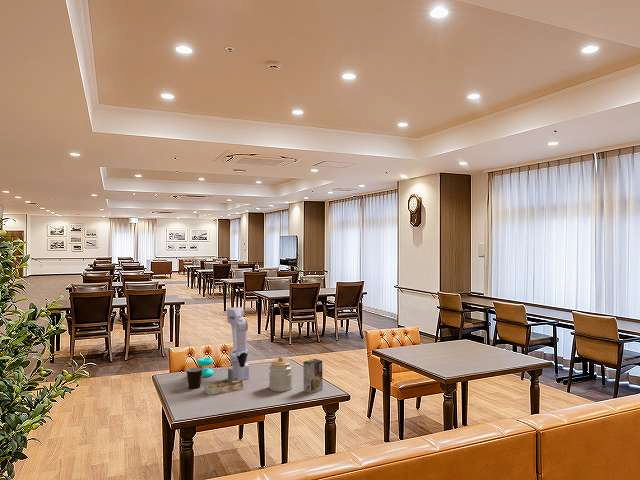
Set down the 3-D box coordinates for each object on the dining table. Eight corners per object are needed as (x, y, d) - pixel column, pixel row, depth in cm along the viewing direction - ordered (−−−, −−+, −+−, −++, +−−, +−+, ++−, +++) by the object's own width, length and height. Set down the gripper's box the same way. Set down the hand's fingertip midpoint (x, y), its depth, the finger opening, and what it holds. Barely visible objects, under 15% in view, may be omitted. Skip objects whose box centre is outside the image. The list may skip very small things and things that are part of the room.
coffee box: (314, 387, 258) (314, 358, 258) (322, 389, 254) (322, 360, 254) (302, 390, 252) (302, 361, 252) (311, 393, 247) (310, 363, 247)
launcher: (236, 384, 262) (236, 377, 262) (243, 389, 255) (243, 381, 255) (215, 388, 255) (215, 381, 255) (221, 393, 247) (221, 385, 248)
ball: (214, 391, 252) (217, 385, 253) (216, 393, 249) (219, 386, 250) (209, 389, 250) (212, 382, 251) (211, 390, 247) (214, 384, 248)
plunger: (230, 381, 258) (230, 368, 258) (233, 383, 253) (233, 370, 253) (225, 382, 256) (225, 369, 256) (228, 384, 252) (228, 371, 252)
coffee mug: (198, 390, 253) (198, 372, 253) (183, 389, 254) (183, 371, 254) (207, 383, 264) (207, 366, 264) (193, 382, 266) (193, 365, 266)
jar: (276, 383, 265) (276, 352, 265) (296, 386, 259) (296, 355, 259) (264, 390, 253) (264, 358, 253) (284, 393, 247) (284, 360, 247)
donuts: (193, 359, 280) (205, 356, 288) (193, 376, 279) (205, 372, 288) (204, 361, 274) (216, 358, 283) (204, 378, 274) (216, 374, 283)
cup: (216, 389, 254) (216, 383, 254) (221, 392, 248) (221, 387, 248) (204, 391, 250) (204, 386, 250) (209, 395, 245) (209, 389, 245)
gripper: (239, 340, 271) (240, 364, 269) (230, 344, 256) (230, 369, 255) (251, 340, 269) (251, 364, 268) (242, 344, 255) (242, 369, 254)
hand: (242, 366), depth 262 cm, fingers closed
